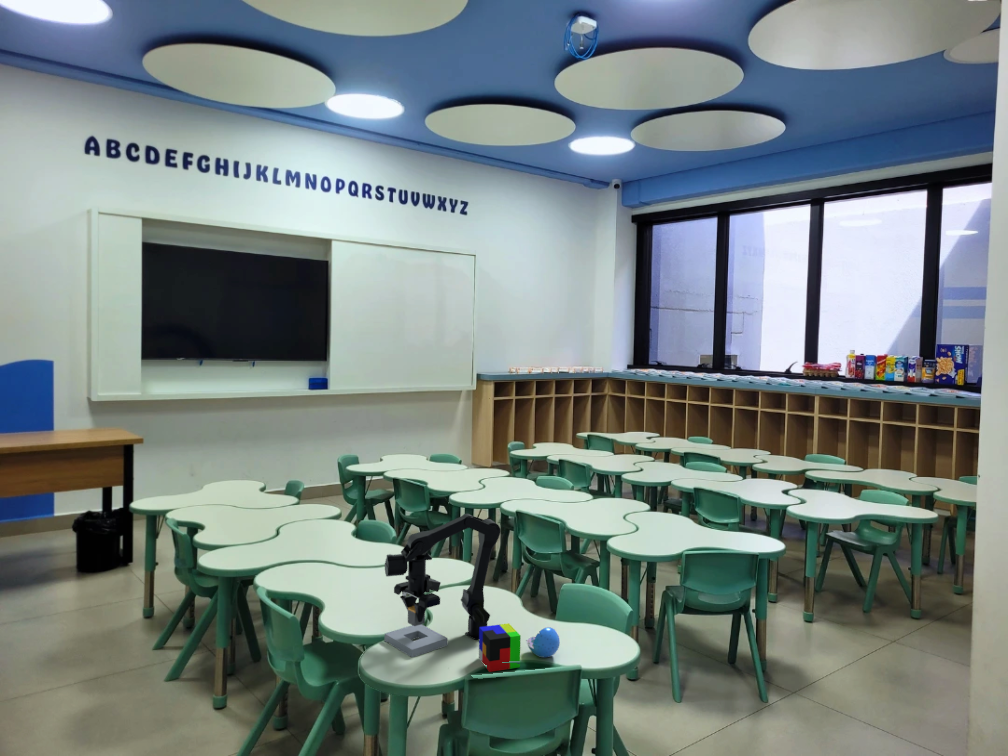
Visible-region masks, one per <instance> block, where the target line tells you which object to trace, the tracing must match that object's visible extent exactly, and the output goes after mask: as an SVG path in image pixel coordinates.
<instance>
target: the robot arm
mask: <svg viewBox="0 0 1008 756" xmlns="http://www.w3.org/2000/svg"><path fill="white" fill-rule="evenodd" d="M467 529H471V530H474V531H476V532H477V534H478V535H477V536H478V537H477V538H478V549H477V554H476V558H475V562H474V567H473V572H472V577H471V581H470V585H469V586H468V588H467V589H462V596H461V598H460V601H461V606H462V608H463V610H465V611H466V613H467V614H468V619H467V620H468V621H467V623H468V624H467V631H466V632H464V635H466V636H467V637H469V638H472V639H473V640H476V641H479V627H484V626H488V622H489V620H490V617H491V614H490V613H489V612H488V611H487V610H486V608H485V597H484V595H485V593H484V587H485V583H486V578H487V572H488V569H489V564H490V561H491V560H490V559H491V555H492V550H493V548H494V547H495V545H496V544H497V543H498V541H499V540H498V539H499V538H500V534H501V533H502V531H501V528H500V524H498V523H496V521H494V520H492V519H490V518H485V519H483V518H480V517H477V516H474V515H471V514H470V513H464V514H462V515H461V516H458V517H457V518H454V519H453V520H450V521H447V522H446V523H444V524H441V525H439V526H437V527H435V528H433V529H430V530H423V531H420V532H416V533H412V534H411V535H409V536H408V538H407V542H406V543H405V546H404V547H403V548H402V549H401V551H400V553H398V554H391V553H389V554H387V555H386V558H385V561H384V571H385V572H384V573H385V577H395V576H396V577H397V576H404V575H405V574H406V573H408V574H407V575H406V576H405V580H406V581H404V582H400V583H396V584H395V585H394V587H393V593H394V594H396V595H397V596H399V595H401V596H400V597H399V598H400V599H401V601H402V603H403V605H404V607H405V608H406V610H407V612H408V608H409V607H412V606H414V607H415V611H416V615H417V619H418V622H422V619H423V617H424V614H425V615H426V612H427V609H429V608H433V607H436V606H439V605H441V597H440V595H437V594H436V593H437V592H439V591H440V587H441V583H442V582H441V581H439V580H436V579H433V578H432V577H431V575H429V574H427V573H426V570H427V568H426V567H427V561H431V560H432V559H433V557H432V556H431V555H430V554H429V553H428V552H429V551H431V549H432V548H433V547H434V546H435V545H436V544H438V543H439V542H441V541H444V540H446V539H448V538H450V537H452V536H454V535H456V534H459V533H461V532H463V531H465V530H467ZM430 591H434V592H436V593H433V592H430ZM426 593H427V594H426ZM417 601H418V602H417Z"/></svg>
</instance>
